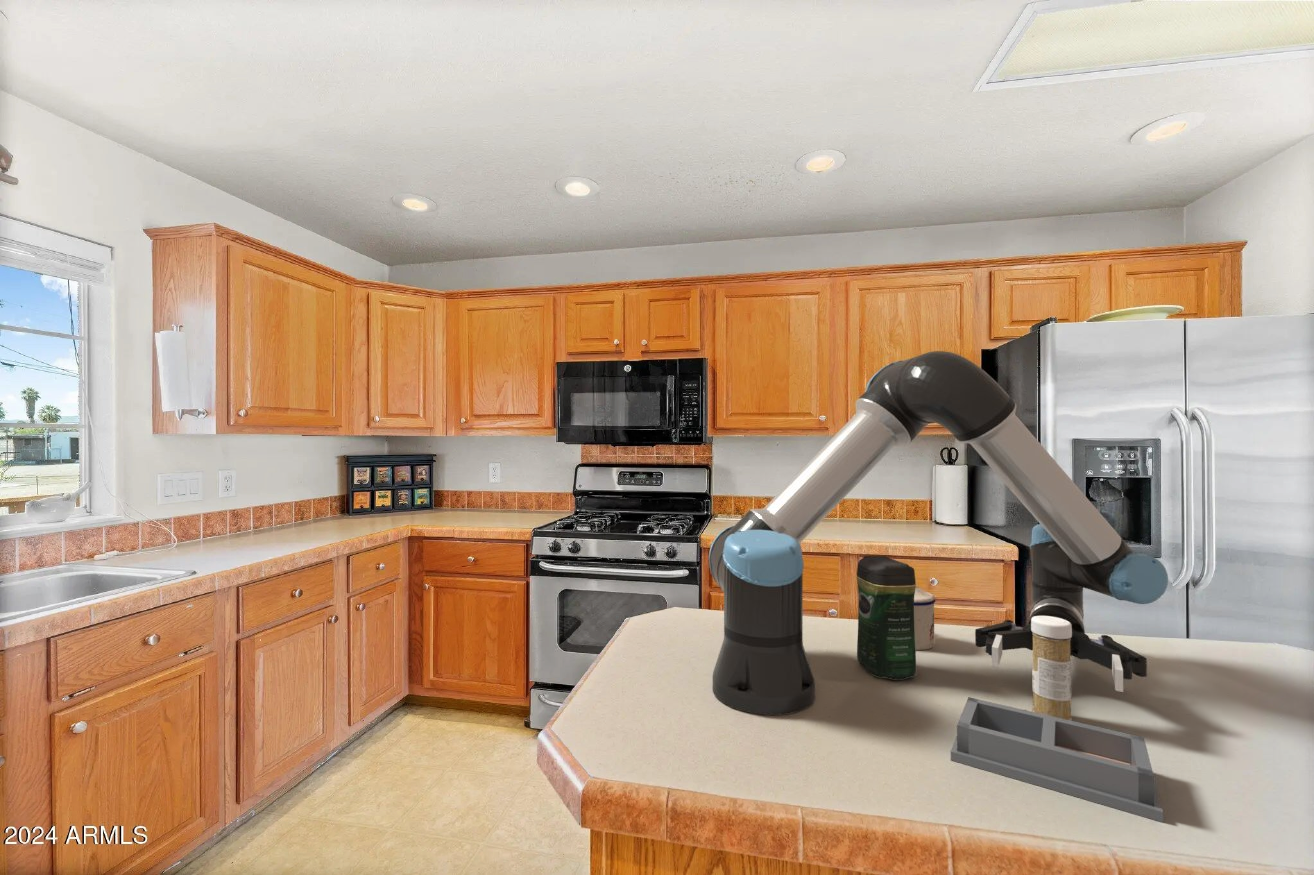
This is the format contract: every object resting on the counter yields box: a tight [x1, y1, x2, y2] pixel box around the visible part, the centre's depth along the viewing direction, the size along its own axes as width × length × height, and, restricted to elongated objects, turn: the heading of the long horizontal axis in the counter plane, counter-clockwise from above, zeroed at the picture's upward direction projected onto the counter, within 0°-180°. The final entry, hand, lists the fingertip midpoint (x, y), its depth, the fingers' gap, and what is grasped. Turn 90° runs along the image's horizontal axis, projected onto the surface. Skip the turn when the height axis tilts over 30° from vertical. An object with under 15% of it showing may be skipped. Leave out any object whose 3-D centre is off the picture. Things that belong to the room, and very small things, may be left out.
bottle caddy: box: [950, 696, 1164, 823], centre depth 66 cm, size 19×11×4 cm, turn 54°
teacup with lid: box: [914, 585, 936, 651], centre depth 109 cm, size 12×9×12 cm
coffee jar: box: [856, 555, 917, 681], centre depth 94 cm, size 10×8×19 cm
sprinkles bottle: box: [1031, 616, 1073, 721], centre depth 77 cm, size 5×5×13 cm
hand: (1053, 668), depth 76 cm, fingers open, 13 cm apart
